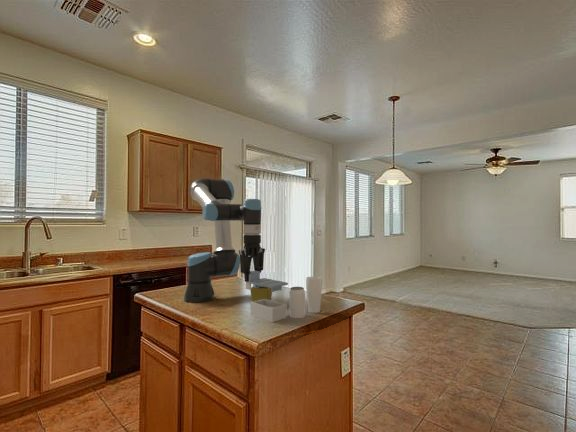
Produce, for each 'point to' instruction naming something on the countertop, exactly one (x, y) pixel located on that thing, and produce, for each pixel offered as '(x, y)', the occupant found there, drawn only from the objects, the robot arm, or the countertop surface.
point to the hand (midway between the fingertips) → (252, 288)
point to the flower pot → (260, 293)
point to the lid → (265, 282)
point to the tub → (268, 310)
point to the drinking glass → (314, 293)
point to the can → (297, 302)
